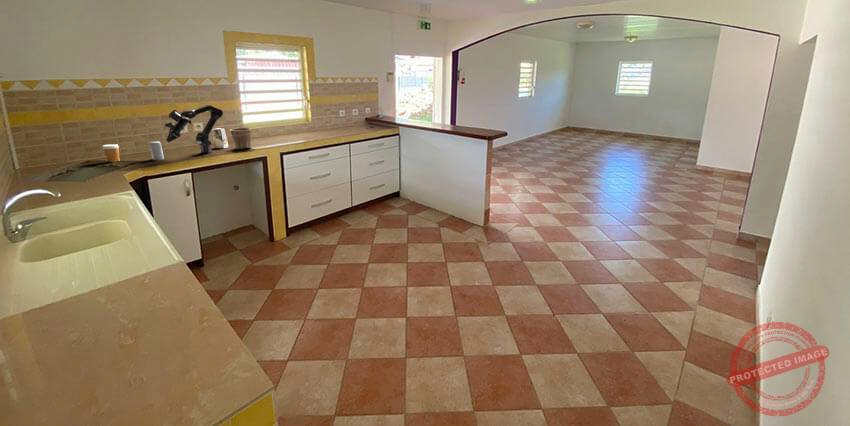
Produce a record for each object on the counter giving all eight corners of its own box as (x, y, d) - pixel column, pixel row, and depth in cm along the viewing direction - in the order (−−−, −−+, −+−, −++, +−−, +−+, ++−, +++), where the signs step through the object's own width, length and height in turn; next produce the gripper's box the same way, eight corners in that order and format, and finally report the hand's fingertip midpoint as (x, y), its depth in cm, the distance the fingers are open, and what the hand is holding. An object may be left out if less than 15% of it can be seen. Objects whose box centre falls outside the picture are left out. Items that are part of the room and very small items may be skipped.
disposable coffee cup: (125, 160, 295) (121, 144, 291) (112, 163, 287) (107, 146, 283) (116, 159, 298) (112, 143, 294) (103, 162, 289) (98, 145, 286)
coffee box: (228, 147, 348) (225, 128, 342) (224, 148, 342) (220, 129, 336) (219, 146, 349) (215, 128, 344) (214, 148, 343) (211, 129, 338)
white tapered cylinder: (166, 158, 303) (162, 141, 299) (159, 160, 297) (156, 143, 293) (157, 158, 304) (153, 141, 300) (150, 159, 297) (146, 143, 293)
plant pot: (244, 150, 333) (241, 130, 327) (228, 149, 337) (225, 129, 332) (257, 147, 347) (254, 128, 342) (242, 146, 352) (239, 127, 347)
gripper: (169, 116, 305) (155, 132, 303) (171, 119, 291) (157, 135, 288) (183, 126, 312) (169, 142, 310) (186, 129, 298) (172, 145, 295)
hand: (167, 141), depth 301 cm, fingers open, 9 cm apart
